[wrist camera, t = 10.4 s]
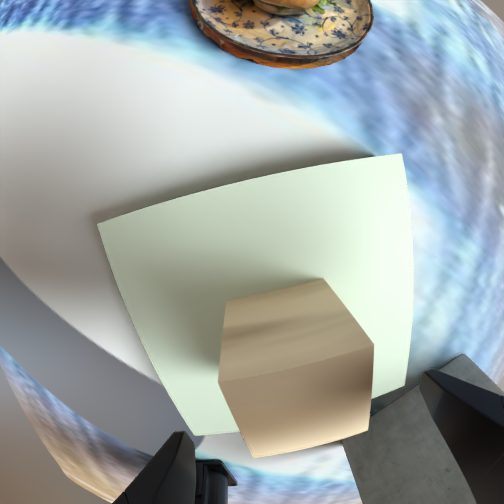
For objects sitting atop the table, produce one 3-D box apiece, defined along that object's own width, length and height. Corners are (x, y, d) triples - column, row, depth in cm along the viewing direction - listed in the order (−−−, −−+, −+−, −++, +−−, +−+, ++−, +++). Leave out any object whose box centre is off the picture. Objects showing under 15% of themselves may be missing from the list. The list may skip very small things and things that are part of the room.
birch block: (332, 354, 15) (367, 430, 9) (248, 374, 15) (253, 458, 9) (323, 278, 13) (374, 344, 8) (226, 301, 13) (217, 382, 8)
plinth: (388, 363, 19) (404, 385, 16) (198, 408, 19) (194, 435, 16) (376, 156, 15) (401, 153, 12) (120, 215, 15) (97, 223, 12)
